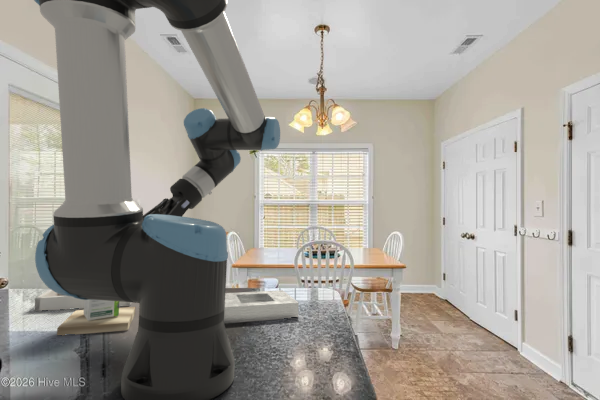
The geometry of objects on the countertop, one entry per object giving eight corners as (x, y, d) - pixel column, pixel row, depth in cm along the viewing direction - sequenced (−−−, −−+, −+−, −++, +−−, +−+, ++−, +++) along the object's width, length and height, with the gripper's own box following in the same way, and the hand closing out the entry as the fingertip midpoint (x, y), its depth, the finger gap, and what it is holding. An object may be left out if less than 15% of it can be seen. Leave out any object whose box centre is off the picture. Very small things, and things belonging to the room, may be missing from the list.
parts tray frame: (130, 305, 85) (130, 293, 85) (34, 311, 78) (35, 298, 78) (136, 293, 98) (137, 282, 98) (55, 296, 91) (56, 285, 91)
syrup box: (87, 321, 67) (91, 248, 68) (82, 314, 72) (86, 246, 73) (118, 316, 71) (122, 247, 72) (112, 310, 76) (116, 245, 76)
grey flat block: (298, 317, 79) (298, 302, 79) (219, 323, 73) (220, 307, 73) (282, 303, 91) (282, 290, 91) (214, 307, 85) (214, 293, 85)
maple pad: (127, 330, 68) (128, 322, 68) (56, 335, 64) (57, 327, 64) (135, 313, 79) (135, 306, 79) (75, 317, 75) (76, 310, 75)
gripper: (224, 198, 77) (152, 270, 67) (183, 200, 96) (122, 256, 86) (203, 173, 74) (124, 244, 64) (165, 180, 93) (99, 235, 83)
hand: (123, 251), depth 75 cm, fingers open, 13 cm apart
